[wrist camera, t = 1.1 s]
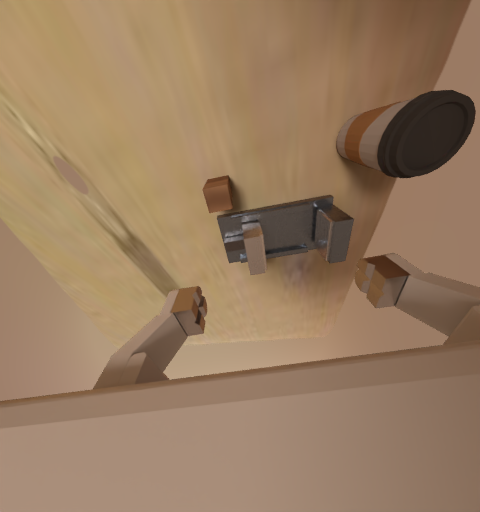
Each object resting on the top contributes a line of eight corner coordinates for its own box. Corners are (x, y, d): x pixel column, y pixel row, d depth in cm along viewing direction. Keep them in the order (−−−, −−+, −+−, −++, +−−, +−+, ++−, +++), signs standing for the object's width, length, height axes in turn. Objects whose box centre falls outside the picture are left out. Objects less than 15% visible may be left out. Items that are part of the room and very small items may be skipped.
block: (208, 179, 34) (202, 189, 28) (228, 175, 34) (227, 184, 28) (213, 199, 36) (209, 213, 30) (232, 196, 36) (232, 208, 30)
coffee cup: (339, 173, 34) (399, 195, 22) (321, 133, 30) (382, 132, 18) (384, 141, 31) (482, 145, 19) (370, 92, 28) (482, 58, 15)
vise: (217, 215, 38) (213, 235, 31) (330, 194, 37) (355, 210, 29) (229, 259, 45) (228, 284, 37) (324, 243, 43) (344, 266, 36)
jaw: (221, 225, 38) (219, 243, 32) (258, 219, 37) (263, 235, 31) (229, 257, 43) (229, 278, 36) (262, 252, 42) (267, 272, 36)
